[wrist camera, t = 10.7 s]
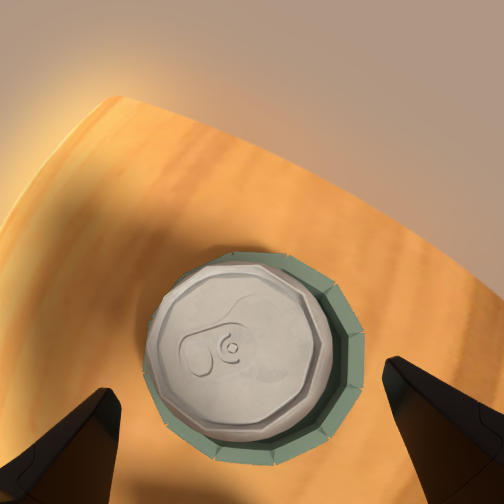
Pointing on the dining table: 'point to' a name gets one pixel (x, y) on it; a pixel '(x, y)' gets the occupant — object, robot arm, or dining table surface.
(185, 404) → the beer can
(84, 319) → the dining table surface
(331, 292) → the bowl
